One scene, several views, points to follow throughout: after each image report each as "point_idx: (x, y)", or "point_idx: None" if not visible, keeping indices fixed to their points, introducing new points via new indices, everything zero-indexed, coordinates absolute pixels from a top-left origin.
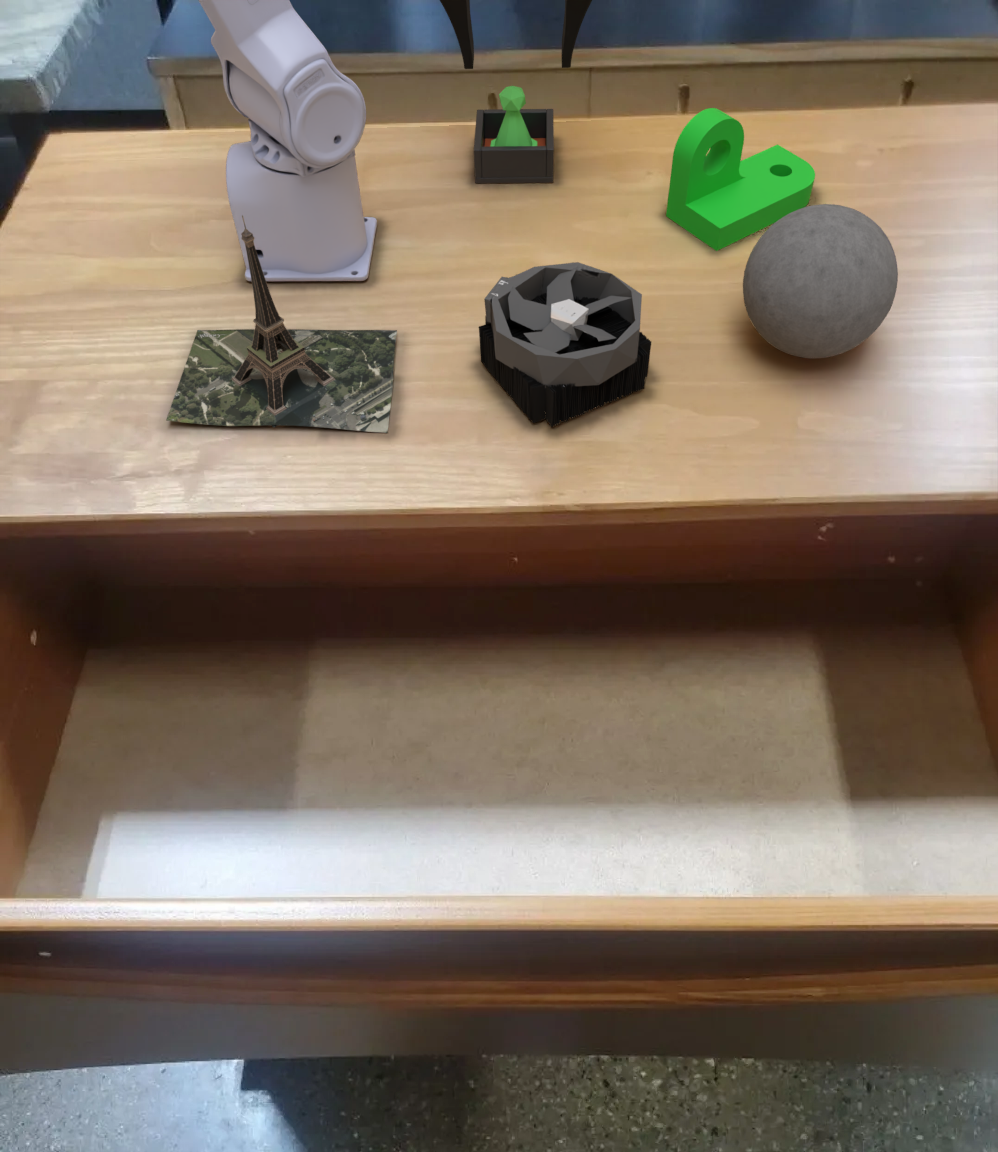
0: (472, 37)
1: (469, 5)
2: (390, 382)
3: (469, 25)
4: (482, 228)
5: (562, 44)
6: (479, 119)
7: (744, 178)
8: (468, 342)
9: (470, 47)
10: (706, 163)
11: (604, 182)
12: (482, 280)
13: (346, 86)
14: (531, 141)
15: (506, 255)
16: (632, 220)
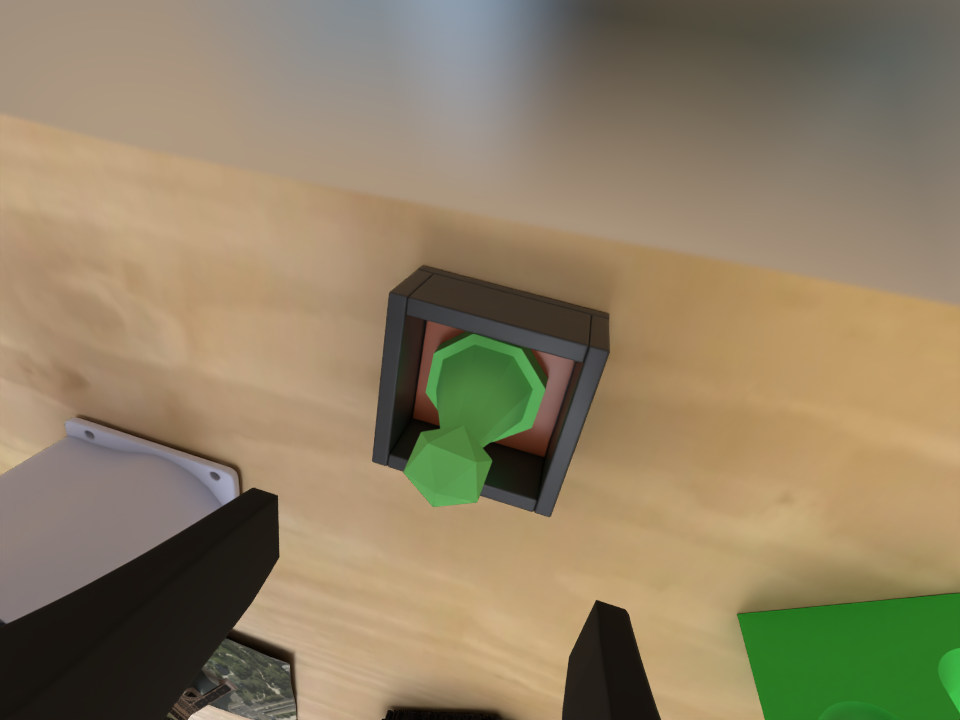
0: (226, 556)
1: (110, 654)
2: (292, 700)
3: (169, 660)
4: (404, 530)
5: (579, 702)
6: (391, 346)
7: (956, 687)
8: (372, 687)
9: (222, 638)
10: (870, 714)
11: (667, 493)
12: (395, 619)
13: None
14: (527, 398)
15: (434, 593)
16: (667, 600)
